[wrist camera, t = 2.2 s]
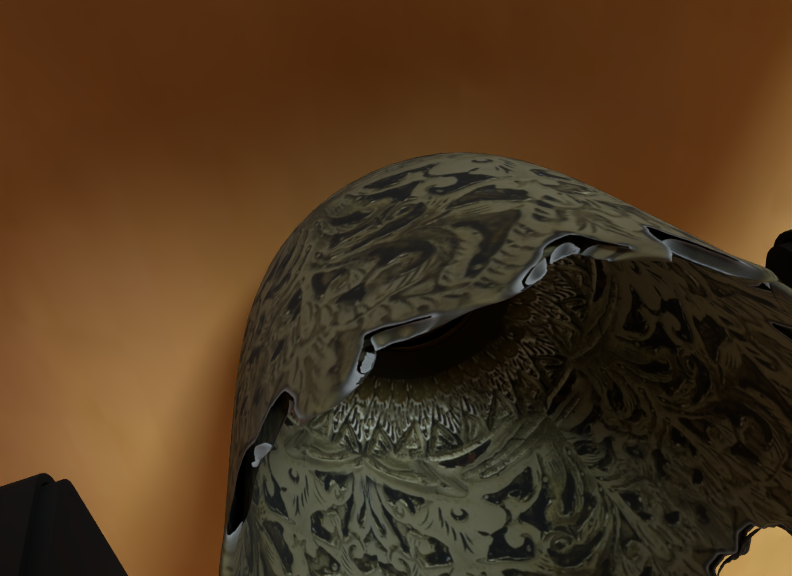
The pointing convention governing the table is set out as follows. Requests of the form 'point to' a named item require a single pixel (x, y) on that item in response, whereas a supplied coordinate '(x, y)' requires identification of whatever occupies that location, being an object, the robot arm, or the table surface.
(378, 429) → the cup
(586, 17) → the table surface
